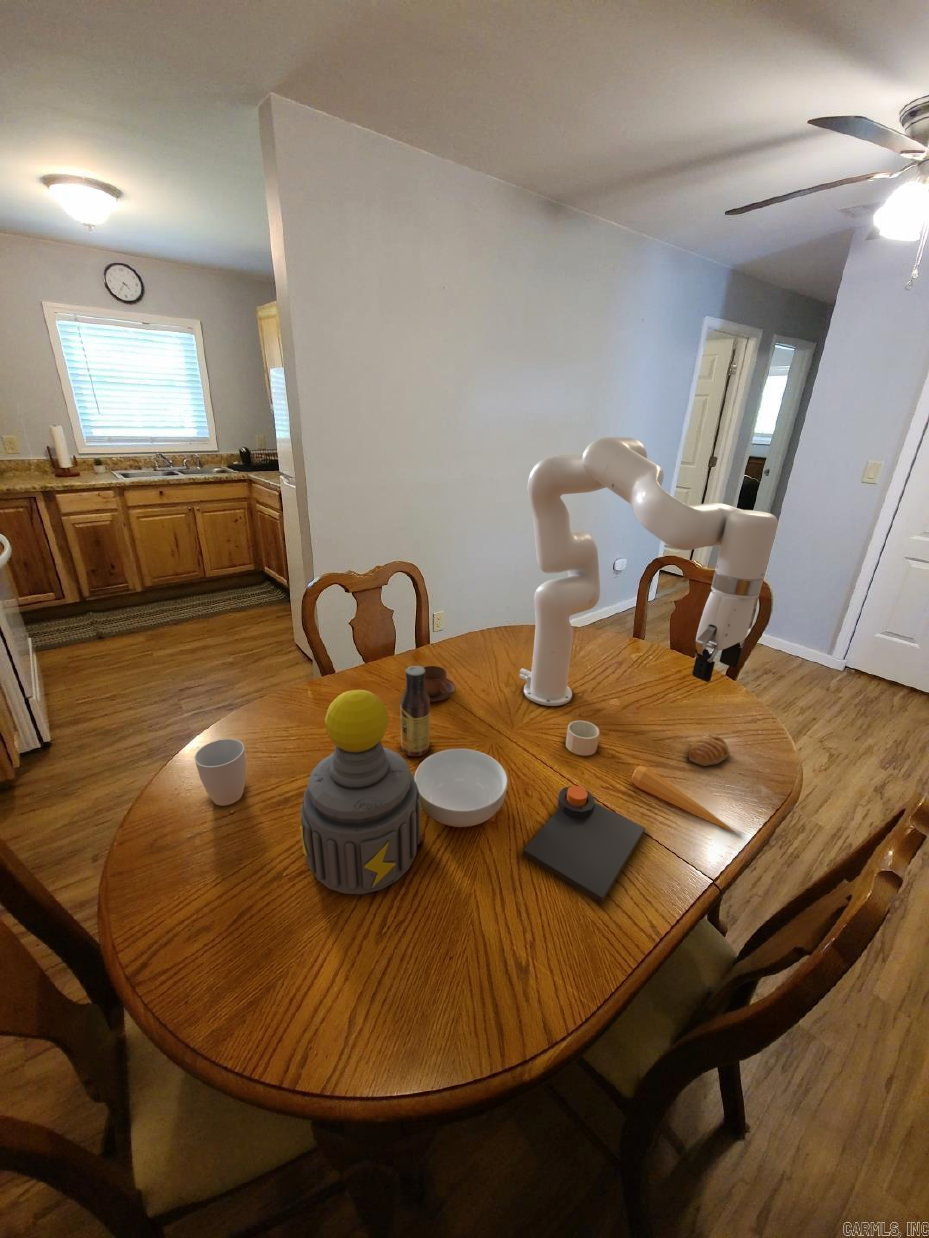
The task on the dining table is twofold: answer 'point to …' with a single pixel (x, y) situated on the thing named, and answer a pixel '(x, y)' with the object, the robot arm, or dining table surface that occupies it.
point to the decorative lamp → (360, 802)
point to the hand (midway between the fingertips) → (714, 671)
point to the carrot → (671, 794)
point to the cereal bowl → (461, 787)
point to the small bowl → (582, 738)
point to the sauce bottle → (415, 713)
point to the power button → (577, 796)
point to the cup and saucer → (437, 683)
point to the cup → (222, 770)
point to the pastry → (708, 750)
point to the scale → (585, 845)
